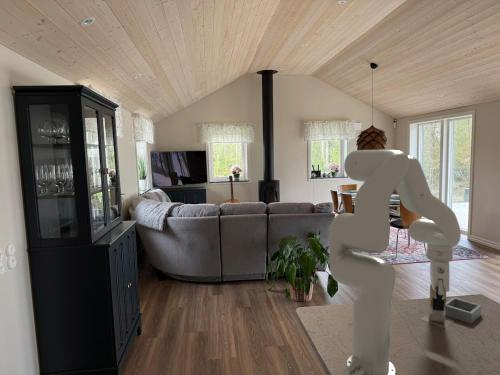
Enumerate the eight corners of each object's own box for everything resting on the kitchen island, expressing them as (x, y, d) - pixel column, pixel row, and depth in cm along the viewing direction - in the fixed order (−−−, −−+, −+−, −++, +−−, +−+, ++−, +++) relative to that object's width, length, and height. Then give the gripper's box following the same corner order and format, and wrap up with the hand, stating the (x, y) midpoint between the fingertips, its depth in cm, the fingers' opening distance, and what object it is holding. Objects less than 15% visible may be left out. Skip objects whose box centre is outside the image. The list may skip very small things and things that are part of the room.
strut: (444, 322, 117) (446, 290, 116) (430, 320, 119) (431, 288, 117) (443, 316, 121) (444, 285, 120) (429, 314, 123) (430, 284, 121)
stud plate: (444, 332, 115) (445, 316, 114) (419, 323, 121) (420, 307, 120) (454, 324, 120) (455, 308, 119) (430, 316, 126) (430, 301, 125)
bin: (471, 327, 117) (471, 313, 117) (442, 318, 124) (442, 304, 123) (480, 319, 123) (481, 305, 122) (452, 310, 130) (453, 297, 129)
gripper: (456, 263, 108) (453, 320, 110) (448, 248, 124) (446, 298, 126) (429, 260, 111) (426, 316, 113) (425, 246, 127) (423, 295, 128)
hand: (437, 306), depth 119 cm, fingers closed on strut, 4 cm apart
